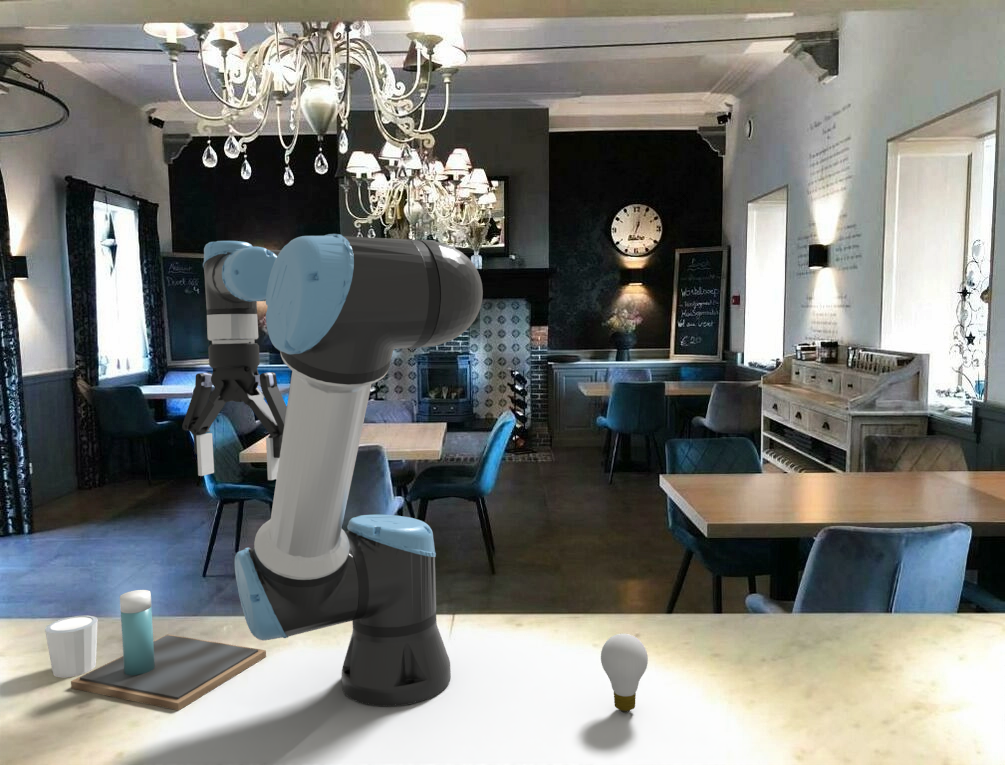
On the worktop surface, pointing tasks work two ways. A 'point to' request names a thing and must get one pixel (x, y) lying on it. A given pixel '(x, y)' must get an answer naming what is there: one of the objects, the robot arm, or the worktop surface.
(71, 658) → the white tapered cup
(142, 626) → the teal bottle
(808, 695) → the worktop surface
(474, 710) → the worktop surface
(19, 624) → the worktop surface
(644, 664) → the light bulb
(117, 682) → the slate board
